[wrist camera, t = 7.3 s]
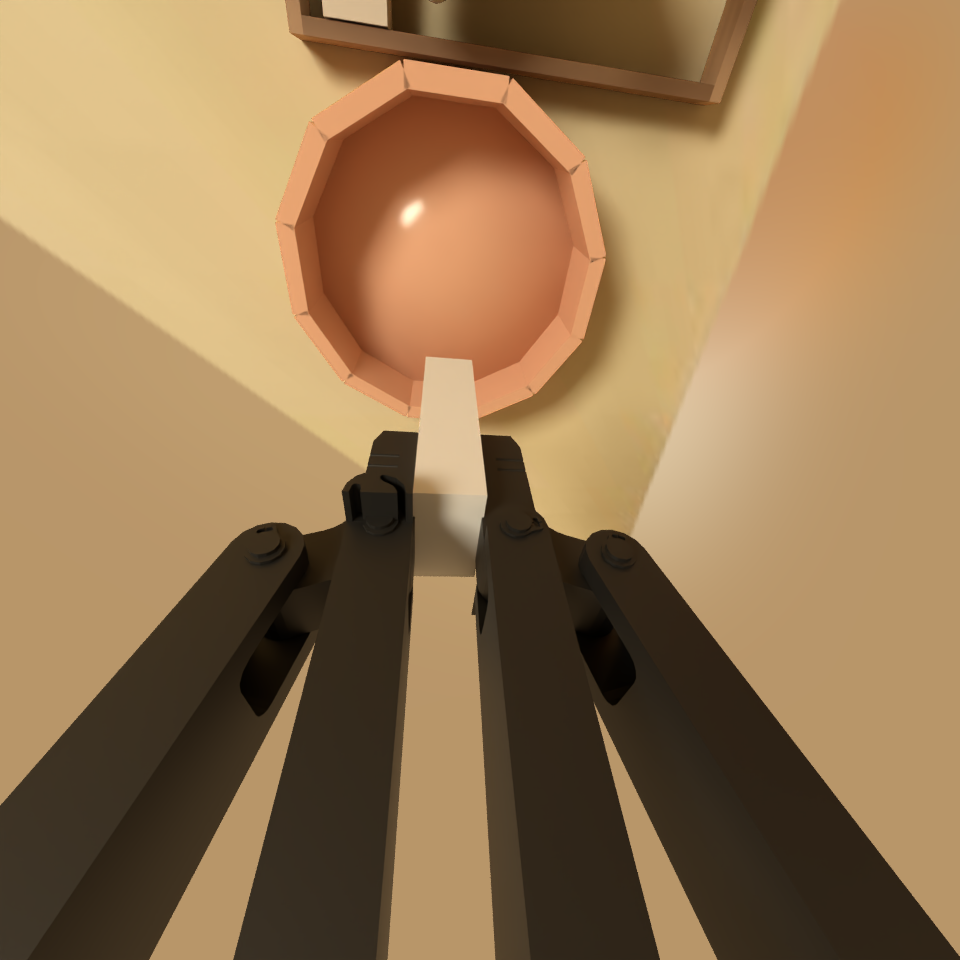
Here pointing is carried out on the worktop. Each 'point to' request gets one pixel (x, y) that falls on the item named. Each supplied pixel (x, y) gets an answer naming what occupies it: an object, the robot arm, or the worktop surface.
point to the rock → (437, 1)
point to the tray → (538, 66)
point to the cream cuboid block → (360, 12)
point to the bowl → (440, 235)
